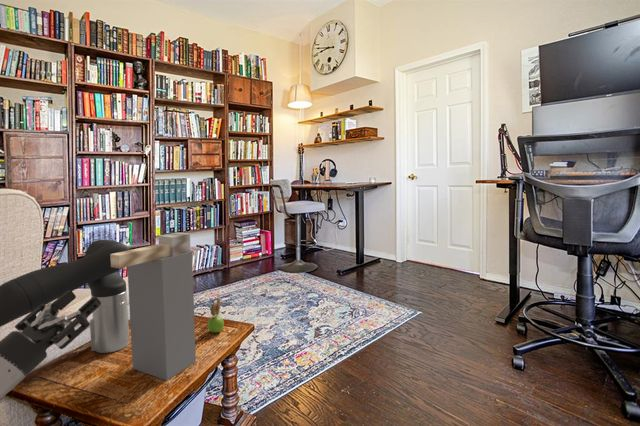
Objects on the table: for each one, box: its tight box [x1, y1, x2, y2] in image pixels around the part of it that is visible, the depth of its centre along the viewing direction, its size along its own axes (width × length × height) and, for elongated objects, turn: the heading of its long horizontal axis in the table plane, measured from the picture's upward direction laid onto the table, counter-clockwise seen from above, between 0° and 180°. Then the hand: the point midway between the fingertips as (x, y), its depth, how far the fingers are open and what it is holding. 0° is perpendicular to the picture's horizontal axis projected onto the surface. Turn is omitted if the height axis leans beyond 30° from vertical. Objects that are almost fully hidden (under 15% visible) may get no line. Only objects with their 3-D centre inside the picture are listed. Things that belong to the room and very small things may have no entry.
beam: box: [110, 231, 192, 269], centre depth 87 cm, size 20×5×5 cm, turn 155°
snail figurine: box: [206, 293, 225, 334], centre depth 117 cm, size 5×6×12 cm
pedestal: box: [126, 251, 197, 381], centre depth 95 cm, size 10×13×32 cm
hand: (85, 296), depth 72 cm, fingers open, 8 cm apart
